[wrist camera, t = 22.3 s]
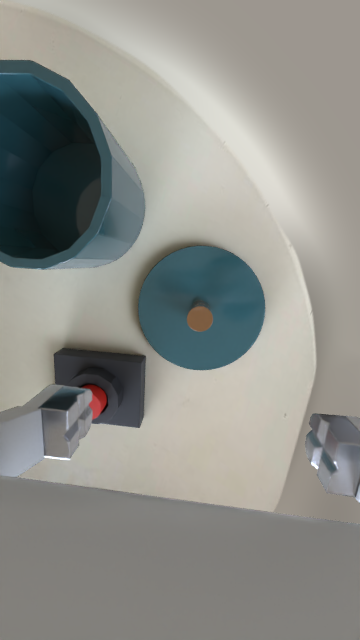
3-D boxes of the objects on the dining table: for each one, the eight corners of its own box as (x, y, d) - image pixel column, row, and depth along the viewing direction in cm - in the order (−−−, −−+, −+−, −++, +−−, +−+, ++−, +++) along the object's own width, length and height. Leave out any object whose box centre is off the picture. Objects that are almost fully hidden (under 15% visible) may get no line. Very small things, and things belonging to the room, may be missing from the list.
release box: (145, 355, 32) (137, 368, 28) (143, 417, 34) (135, 437, 30) (63, 347, 32) (44, 359, 29) (66, 408, 34) (48, 427, 31)
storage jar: (147, 139, 26) (111, 60, 16) (143, 270, 29) (111, 274, 19) (24, 135, 27) (-83, 58, 17) (33, 262, 30) (-53, 262, 20)
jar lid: (271, 250, 27) (287, 248, 22) (253, 371, 31) (263, 393, 26) (142, 242, 28) (129, 237, 23) (138, 360, 32) (126, 378, 27)
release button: (106, 385, 29) (101, 393, 27) (107, 413, 30) (101, 422, 28) (77, 382, 29) (69, 390, 28) (78, 409, 30) (70, 418, 28)
